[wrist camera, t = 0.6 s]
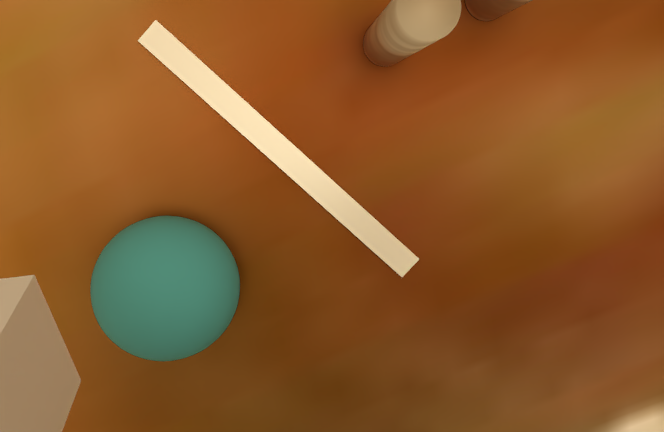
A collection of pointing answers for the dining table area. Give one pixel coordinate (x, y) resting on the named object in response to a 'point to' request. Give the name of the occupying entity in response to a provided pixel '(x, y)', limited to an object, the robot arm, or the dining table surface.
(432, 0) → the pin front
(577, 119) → the dining table surface
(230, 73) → the dining table surface
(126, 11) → the dining table surface
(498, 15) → the pin
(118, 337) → the ball
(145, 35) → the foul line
